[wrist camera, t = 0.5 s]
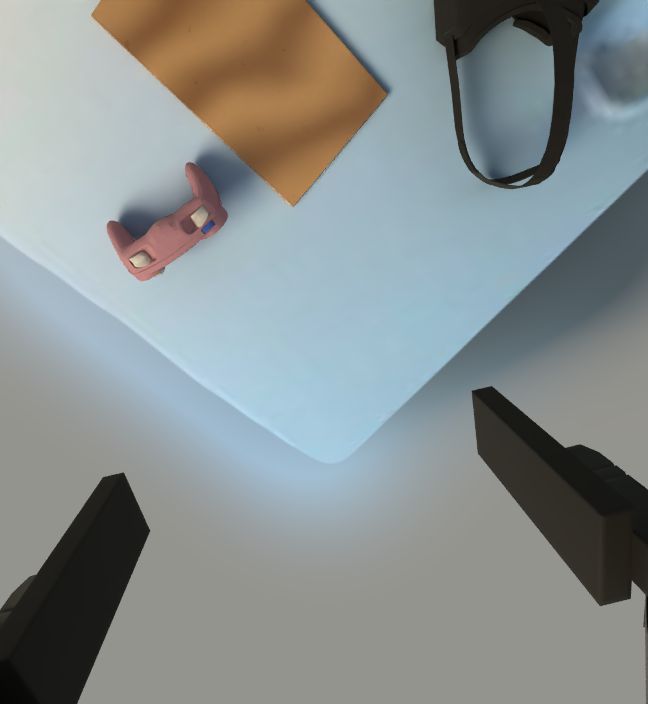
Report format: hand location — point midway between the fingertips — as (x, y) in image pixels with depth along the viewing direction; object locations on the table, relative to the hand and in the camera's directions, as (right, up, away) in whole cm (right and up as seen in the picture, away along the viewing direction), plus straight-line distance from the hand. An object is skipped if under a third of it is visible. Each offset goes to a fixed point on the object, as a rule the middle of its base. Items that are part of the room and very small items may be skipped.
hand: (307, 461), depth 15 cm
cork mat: (-6, +28, +18) cm, 33 cm away
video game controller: (-13, +16, +21) cm, 29 cm away
